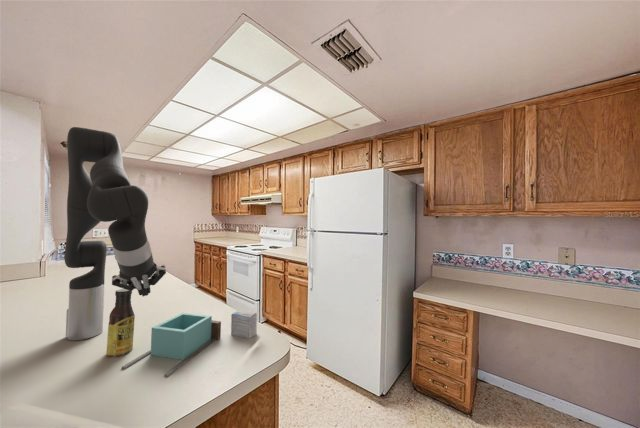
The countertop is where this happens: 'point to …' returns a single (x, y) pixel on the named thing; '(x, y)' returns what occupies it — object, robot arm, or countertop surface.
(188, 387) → the countertop surface
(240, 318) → the medicine box
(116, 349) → the sauce bottle
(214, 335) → the track board
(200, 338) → the holder
